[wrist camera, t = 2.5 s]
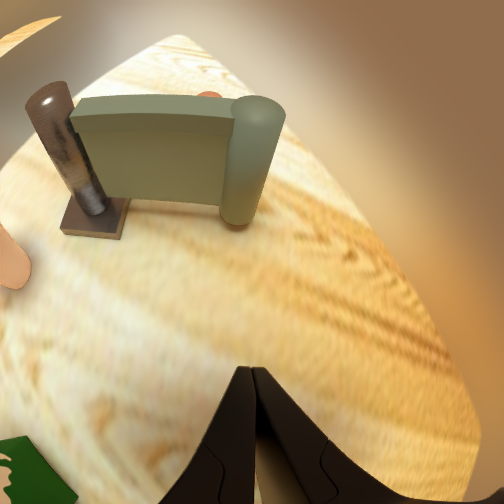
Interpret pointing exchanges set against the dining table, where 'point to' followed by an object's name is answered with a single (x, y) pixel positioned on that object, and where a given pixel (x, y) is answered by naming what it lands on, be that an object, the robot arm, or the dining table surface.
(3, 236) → the smoothie
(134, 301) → the dining table surface
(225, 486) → the robot arm
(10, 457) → the milk carton
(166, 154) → the gate
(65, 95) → the hinge post
